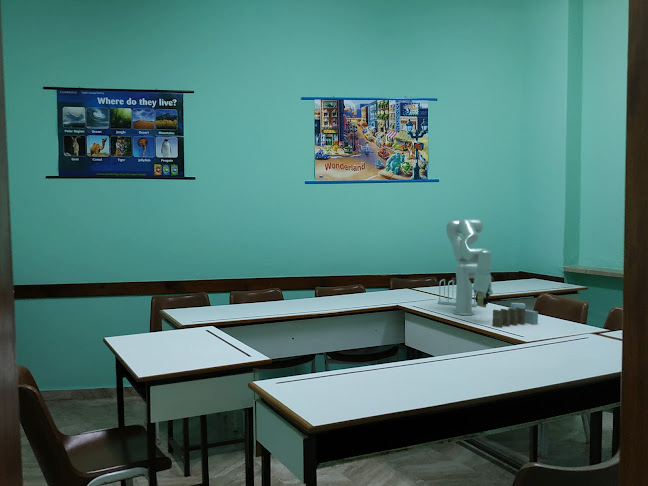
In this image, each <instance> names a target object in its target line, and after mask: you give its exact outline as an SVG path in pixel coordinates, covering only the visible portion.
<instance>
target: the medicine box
mask: <svg viewBox="0 0 648 486" xmlns="http://www.w3.org/2000/svg"><path fill="white" fill-rule="evenodd" d="M526 306H527V305H526V303H523V302H510V308H513V309H515V308H516V307H519V308H524V309H526Z"/></svg>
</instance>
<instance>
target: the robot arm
mask: <svg viewBox="0 0 648 486" xmlns="http://www.w3.org/2000/svg"><path fill="white" fill-rule="evenodd" d="M483 229H484V225H483V222H482V220H480V219H479V218H464V219H453V220H452V219H451V220H449V221H448V222H447V223H446V229H445V230H446V231H445V232H446V235H447V237H448V239H449V242H450V244H451V247H452V251H453V255H454V259H455V261H456V262H457V264H456V265H455V276H456V292H455V293H456V295H455V299H456V305H455V310H453V312H452V313H453V314H454V315H457V316H473V315H475V312H474V311H472V309H473V308H472V300H473V293H474V292H475V301H476V302H477V297H478V296H477V295H478V291H479V292H483V293H484V298H483V304H484V305H485V304H486V305H488V303H489V298H490V296H491V295H493V294H494V291H493V290H492V275H491V269H492V251H491V250H488V249H487V248H485V247H482V248H481V247H473V246H470V245H473V244H475V243H476V242H477V241H478V240H479V233H481V232H483ZM460 234H461V235H460ZM470 279H473V284H472V282H471V280H470ZM486 293H487V295H486Z"/></svg>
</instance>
